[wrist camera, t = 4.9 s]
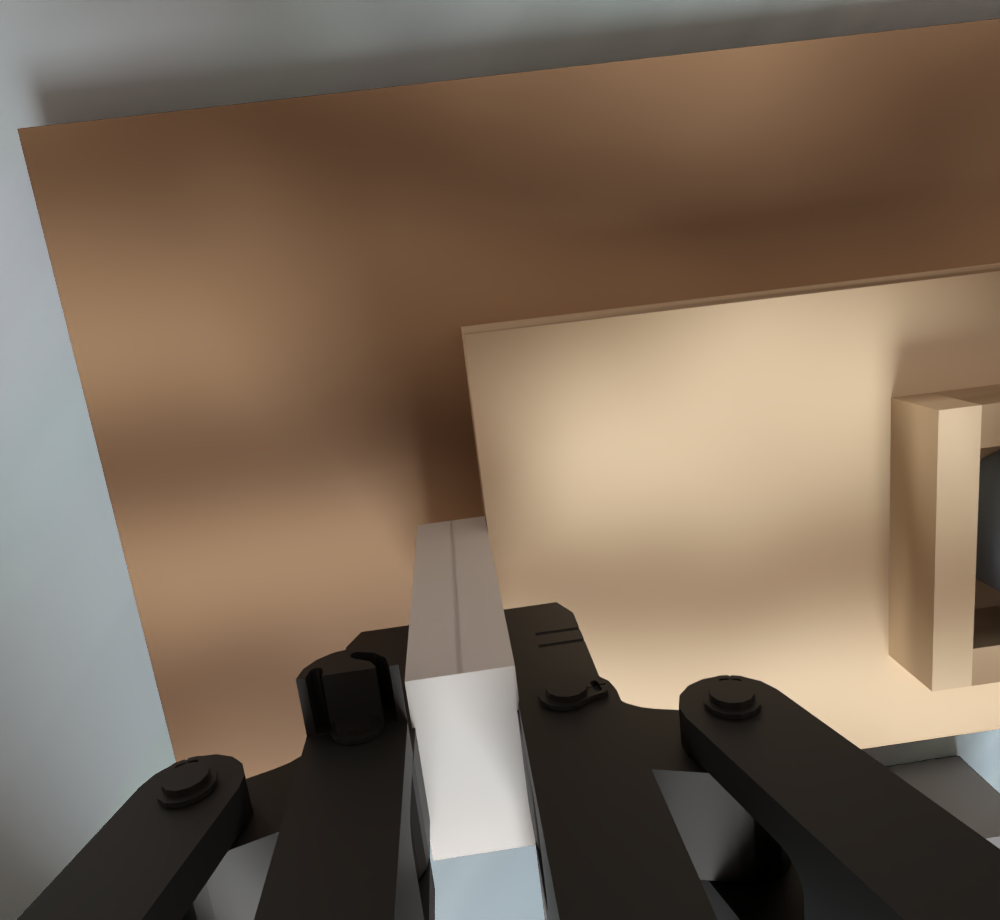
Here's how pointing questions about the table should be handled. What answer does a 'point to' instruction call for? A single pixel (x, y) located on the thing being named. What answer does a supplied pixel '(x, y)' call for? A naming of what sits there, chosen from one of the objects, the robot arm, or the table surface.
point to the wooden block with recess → (759, 492)
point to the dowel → (989, 522)
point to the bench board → (441, 300)
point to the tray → (957, 792)
